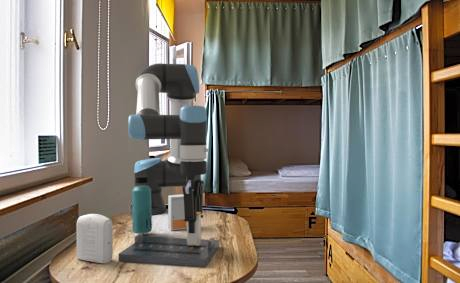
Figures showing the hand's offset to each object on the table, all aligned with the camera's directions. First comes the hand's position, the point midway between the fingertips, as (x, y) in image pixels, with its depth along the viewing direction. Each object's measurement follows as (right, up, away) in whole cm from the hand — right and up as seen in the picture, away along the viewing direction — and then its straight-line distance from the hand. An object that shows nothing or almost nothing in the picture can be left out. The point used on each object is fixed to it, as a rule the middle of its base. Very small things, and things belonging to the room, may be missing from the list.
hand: (194, 242), depth 97 cm
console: (-6, -3, -1) cm, 7 cm away
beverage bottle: (-19, -3, +17) cm, 26 cm away
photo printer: (-26, -3, -5) cm, 27 cm away
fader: (0, -1, 0) cm, 1 cm away
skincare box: (-9, -3, +25) cm, 27 cm away
